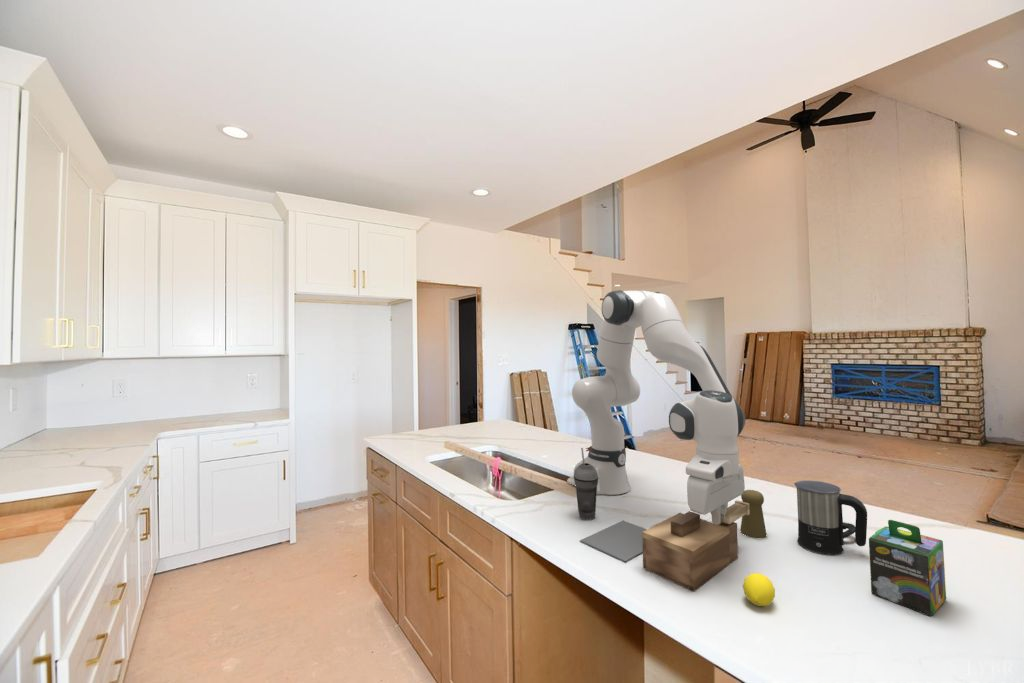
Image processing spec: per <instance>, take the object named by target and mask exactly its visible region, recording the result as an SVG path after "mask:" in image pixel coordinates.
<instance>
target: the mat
mask: <svg viewBox="0 0 1024 683" xmlns="http://www.w3.org/2000/svg"><path fill="white" fill-rule="evenodd" d="M647 529H648V528H645V527H643V526H639V525H637V524H635V523H631V522H629V521H626V520H621V521H619V522H616V523H614V524H613V525H610V526H608V527H605V528H604V529H601V530H599V531H597V532H595V533H592V534H589V535H588V536H586V537H584V538H582V539H579V542H580V543H581V544H584V545H586V546H589V547H590V548H592V549H594V550H597V551H599V552H601V553H603V554H605V555H607V556H610V557H612V558H613V559H615V560H616V559H617V560H618V561H620V562H623V563H625V564H627V563H628V562H630V561H632V560H633V559H635V558H637V557H638V556H640V555H643V543H642V532H643V531H645V530H647Z"/></svg>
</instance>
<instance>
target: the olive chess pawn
mask: <svg viewBox="0 0 1024 683" xmlns="http://www.w3.org/2000/svg"><path fill="white" fill-rule="evenodd" d="M740 498H741V501H742V502H746V503H749V508H750V514H749V515H744V516H742V517H741V523H740V529H739V531H741V532H740V533H741V534H742V535H743V534H744V536H745V535H746V536H745V537H748V538H752V539H757V538H761V539H765V538H767V536H768V534H767V530H766V523H765V519H764V518H765V517H764V510H763V505H764V502H765V498H764V495H763V493H761V492H760V491H758V490H754V489H746V490H745V489H744V493H743V494H742V495H740ZM766 535H767V536H766Z"/></svg>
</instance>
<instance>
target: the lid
mask: <svg viewBox="0 0 1024 683" xmlns="http://www.w3.org/2000/svg"><path fill="white" fill-rule="evenodd" d="M646 529H647V530H645V531H643V532H642V537H643V538H646V539H648V540H651V541H653V542H656V543H658V544H661V545H663V546H666V547H669V548H671V549H674V550H676V551H679V552H681V553H684V554H686V555H689V556H691V557H694V556H696V555H698V554H699V553H701V552H702V551H704V550H705V549H707V548H708V547H710V546H711V545H713V544H714V543H716V542H717V541H719V540H720V539H722V538H723V537H725V536H726V535H728V534H729V528H727V527H724V526H721V525H717V524H714V523H713V522H712V521H711V522H710V521H707V520H704V519H701V514H699V513H696V512H693V511H691V510H688V511H687V512H685V513H682V512H678V513H677V514H674V515H672V516H670V517H669V518H667V519H665V520H662V521H661V522H659V523H657V524H655V525H653V526H651V527H649V528H646Z"/></svg>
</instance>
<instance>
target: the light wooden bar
mask: <svg viewBox="0 0 1024 683" xmlns="http://www.w3.org/2000/svg"><path fill="white" fill-rule="evenodd" d="M749 514H750V508H749V503H746V502H743V501H742V500H738V499H736V500H734V503H733V504H732V505H730V506H728V507H727V511H726V514H725V521H724V522H723V523H726V524H731V523H733V522H736V521H737V520H739V519H742V516H744V515H749Z"/></svg>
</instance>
